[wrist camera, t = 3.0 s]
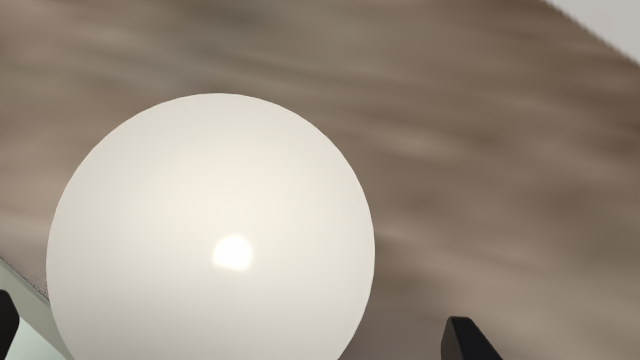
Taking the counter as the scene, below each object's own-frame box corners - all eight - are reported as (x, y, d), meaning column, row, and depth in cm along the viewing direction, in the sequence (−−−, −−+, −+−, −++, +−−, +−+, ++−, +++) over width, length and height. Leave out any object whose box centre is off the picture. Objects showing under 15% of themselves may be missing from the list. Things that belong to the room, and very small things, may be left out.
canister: (375, 252, 19) (440, 221, 8) (287, 369, 18) (229, 505, 7) (267, 168, 20) (194, 36, 9) (177, 276, 19) (-23, 276, 8)
